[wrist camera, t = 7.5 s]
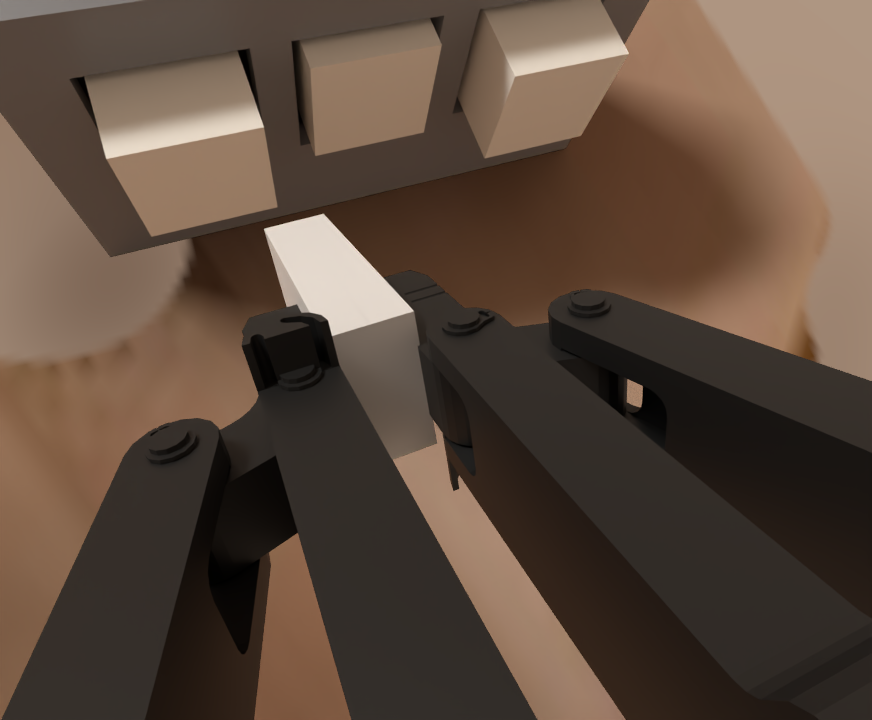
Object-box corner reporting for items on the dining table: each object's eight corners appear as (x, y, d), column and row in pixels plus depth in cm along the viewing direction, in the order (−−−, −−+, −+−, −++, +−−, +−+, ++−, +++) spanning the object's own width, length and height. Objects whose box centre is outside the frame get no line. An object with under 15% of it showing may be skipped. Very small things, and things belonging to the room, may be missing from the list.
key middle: (289, 83, 28) (279, -16, 23) (395, 64, 29) (406, -34, 25) (315, 155, 27) (310, 68, 22) (423, 132, 28) (441, 44, 24)
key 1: (128, 155, 26) (80, 61, 21) (251, 130, 27) (232, 37, 22) (151, 236, 25) (106, 159, 20) (277, 207, 26) (263, 127, 21)
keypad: (76, 125, 32) (-112, -185, 19) (515, 43, 39) (611, -233, 25) (110, 257, 30) (-72, 18, 17) (565, 148, 37) (699, -89, 23)
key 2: (454, 89, 29) (477, -3, 25) (548, 70, 31) (589, -22, 26) (484, 158, 29) (515, 76, 24) (580, 135, 30) (628, 53, 25)
